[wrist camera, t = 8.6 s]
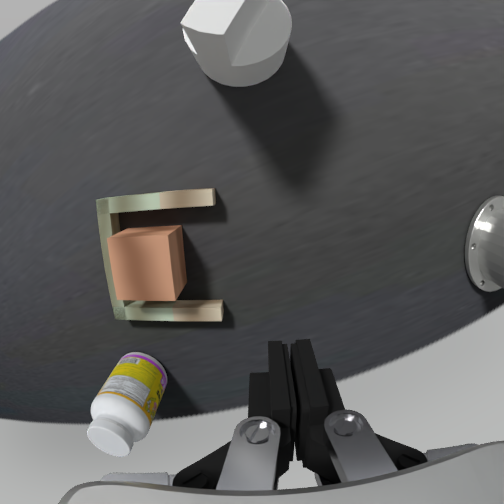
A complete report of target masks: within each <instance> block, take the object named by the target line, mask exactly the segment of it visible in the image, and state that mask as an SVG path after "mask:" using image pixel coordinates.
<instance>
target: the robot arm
mask: <svg viewBox="0 0 504 504" xmlns="http://www.w3.org/2000/svg"><path fill="white" fill-rule="evenodd" d="M465 264H466V269H467V273H468V275H469V277H470V280H471V281H472V282H473V283H474V285H476V286H477V287H478V288H480V289H482V290H484V291H488V292H492V291H496V290H499V289H501V288H503V289H504V196H493V197H491V198H489V199H487V200H486V201H485V202H484V203H483V204H482V205H481V206H480V207H479V209H478V210H477V211H476V213H475V215H474V217H473V219H472V221H471V224H470V226H469V229H468V233H467V237H466V244H465ZM268 362H269V372H266V373H250V382H249V407H248V418H247V419H245V420H243V421H241V422H240V423H239V424H238V425H237V426H236V429H235V431H234V434H233V437H232V440H231V441H230V442H228V443H227V444H225V445H224V446H222V447H220V448H219V449H217V450H216V451H214V452H212V453H211V454H209V455H207V456H206V457H204V458H202V459H201V460H199V461H197V462H195V463H194V464H192V465H190V466H188V467H187V468H185V469H183V470H181V471H180V472H179V473H177V474H176V475H168V473H167V472H165V473H110V474H107V475H105V476H104V477H103V478H102V479H101V480H100V481H95V482H88V483H83V484H80V485H77V486H75V487H73V488H72V489H70V490H69V491H68V492H67V493H66V494H65V495H64V496H63V498H62V499H61V500H60V502H59V503H58V504H504V441H497V442H490V443H485V444H480V445H477V444H465V445H459V446H453V447H447V448H440V449H432V450H427V452H426V453H422V452H420V451H418V450H417V449H414V448H411V447H408V446H406V445H403V444H400V443H398V442H395V441H393V440H390V439H387V438H385V437H382V436H380V435H378V434H375V433H374V431H373V430H372V428H371V427H370V425H369V424H368V422H367V420H366V419H365V418H364V416H363V415H362V414H360V413H358V412H355V411H352V410H345V408H344V405H343V402H342V399H341V397H340V393H339V390H338V388H337V385H336V382H335V379H334V376H333V373H332V370H331V369H330V368H328V369H318V366H317V362H316V359H315V355H314V352H313V348H312V345H311V342H310V339H304V340H296V343H295V344H291V356H290V359H289V353H288V347H287V344H282V341H268ZM294 442H295V448H296V457H297V461H300V460H302V463H303V467H305V468H306V467H307V468H308V469H309V470H311V471H313V472H315V479H316V482H317V485H318V486H317V487H308V488H297V489H285V490H284V489H283V490H277V489H278V482H279V477H280V476H281V475H283V474H284V473H285V472H286V471H287V470H288V469H289V461H293V453H294Z"/></svg>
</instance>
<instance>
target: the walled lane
mask: <svg viewBox="0 0 504 504" xmlns="http://www.w3.org/2000/svg"><path fill="white" fill-rule="evenodd" d="M215 204H216V195H215V188H208V189H193V190H180V191H168V192H157V193H146V194H136V195H127V196H118V197H110V198H103V199H98V200H96V206H97V215H98V224H99V232H100V240H101V247H102V253H103V260H104V266H105V272H106V277H107V282H108V288H109V293H110V298H111V302H112V307H113V311H114V316H115V319H122V320H148V321H222V318H223V314H224V308H223V300H176V301H137V300H117V297H116V292H115V287H114V281H113V276H112V270H111V264H110V257H109V250H108V243H107V238H109V237H111V236H113V235H115V234H117V233H119V232H120V223H119V214H118V213H120V212H131V211H142V210H154V209H168V208H182V207H197V206H213V205H215Z"/></svg>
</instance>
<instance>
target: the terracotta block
mask: <svg viewBox="0 0 504 504" xmlns="http://www.w3.org/2000/svg"><path fill="white" fill-rule="evenodd" d="M107 243H108V250H109V257H110V264H111V270H112V276H113V281H114V287H115V292H116V297H117V300H137V301H176V299H177V298H178V296H179V294H180V293H181V291H182V290H183V288H184V286H185V285H186V283H187V276H186V267H185V257H184V246H183V235H182V225H175V226H157V227H141V228H127V229H125V230H123V231H121V232H119V233H117V234H115V235H113V236H111V237H109V238H107Z"/></svg>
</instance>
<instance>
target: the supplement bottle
mask: <svg viewBox="0 0 504 504" xmlns="http://www.w3.org/2000/svg"><path fill="white" fill-rule="evenodd" d="M166 384H167V374H166V371H165V369H164V368H163V366H162V365H161V364H160V363H159V362H158V361H157V360H156V359H155V358H153V357H151V356H149V355H147V354H144V353H140V352H132V353H128V354H126V355H124V356H123V357H122V358H121V359H120V361H119V362H118V364H117V365H116V367H115V368H114V370H113V371H112V373H111V375H110V376H109V378H108V379H107V381H106V382H105V384H104V385H103V387H102V388H101V390H100V391H99V393H98V395H97V396H96V398H95V399H94V401H93V402H92V405H91V415H92V418H93V421H92V422H91V424H90V426H89V428H88V430H87V435H88V438H89V439H90V441H91V442H92V443H93V444H94V445H95V446H96V447H97V448H99V449H100V450H102V451H103V452H106V453H108V454H110V455H114V456H118V457H124V456H127V455H129V453H130V451H131V449H132V447H133V442H137V441H140V440H142V439H143V438H144V437H145V436H146V435H147V434H148V431H149V429H150V426H151V424H152V421H153V418H154V416H155V413H156V410H157V408H158V405H159V403H160V401H161V398H162V395H163V393H164V390H165V387H166Z"/></svg>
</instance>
